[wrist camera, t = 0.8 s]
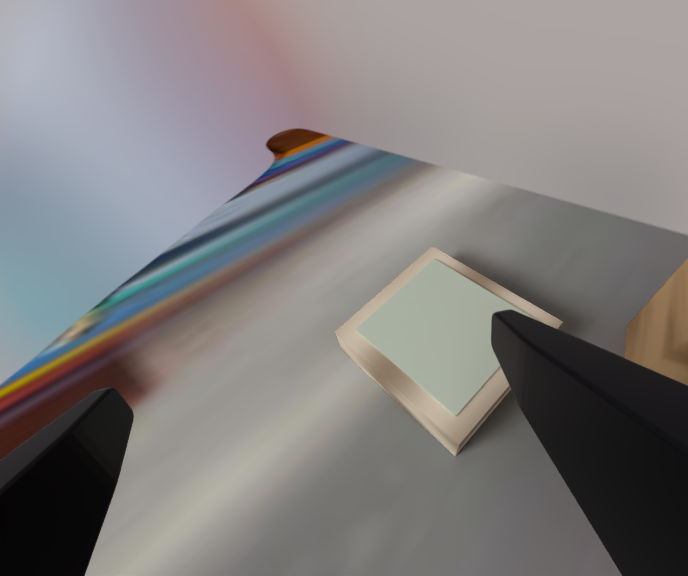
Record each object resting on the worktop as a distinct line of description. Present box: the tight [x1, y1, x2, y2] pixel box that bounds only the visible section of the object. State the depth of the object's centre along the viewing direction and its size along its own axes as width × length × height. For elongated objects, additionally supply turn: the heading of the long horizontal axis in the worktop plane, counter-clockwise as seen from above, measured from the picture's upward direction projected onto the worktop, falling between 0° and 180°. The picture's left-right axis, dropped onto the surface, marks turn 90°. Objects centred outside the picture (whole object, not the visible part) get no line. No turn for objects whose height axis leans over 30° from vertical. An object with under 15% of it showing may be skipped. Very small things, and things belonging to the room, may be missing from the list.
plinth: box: [335, 246, 563, 456], centre depth 24 cm, size 10×10×3 cm
